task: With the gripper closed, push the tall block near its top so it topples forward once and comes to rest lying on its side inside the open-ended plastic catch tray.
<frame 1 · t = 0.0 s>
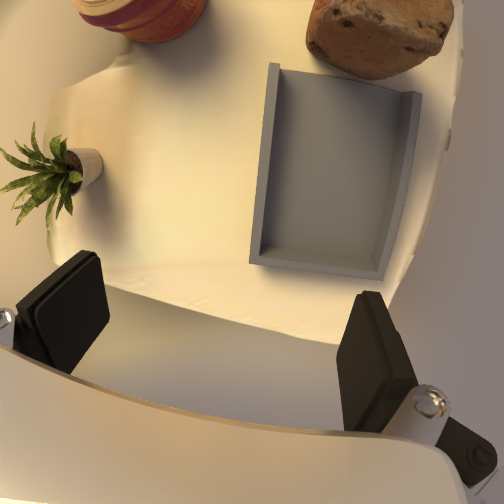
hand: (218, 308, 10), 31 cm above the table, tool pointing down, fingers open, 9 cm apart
canister: (163, 6, 30), on the table
catch tray: (332, 167, 37), on the table
house plant: (89, 155, 40), on the table
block: (345, 48, 31), on the table
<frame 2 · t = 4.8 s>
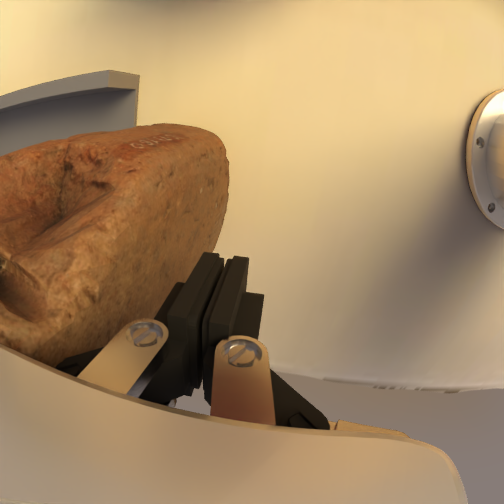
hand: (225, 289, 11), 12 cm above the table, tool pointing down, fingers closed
catch tray: (38, 181, 24), on the table
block: (186, 190, 23), on the table, touching gripper
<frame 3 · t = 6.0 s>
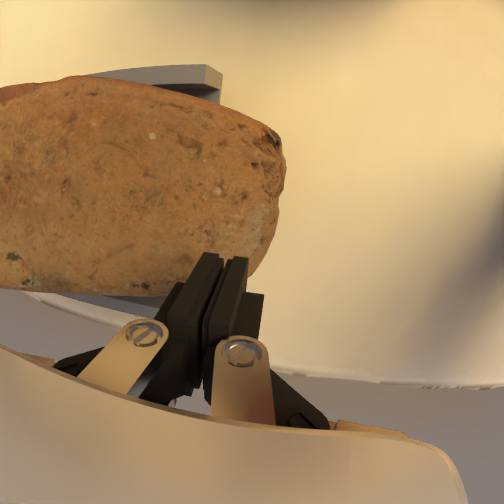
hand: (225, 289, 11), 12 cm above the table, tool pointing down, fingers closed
catch tray: (85, 185, 23), on the table
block: (253, 205, 20), point 3 cm above the table
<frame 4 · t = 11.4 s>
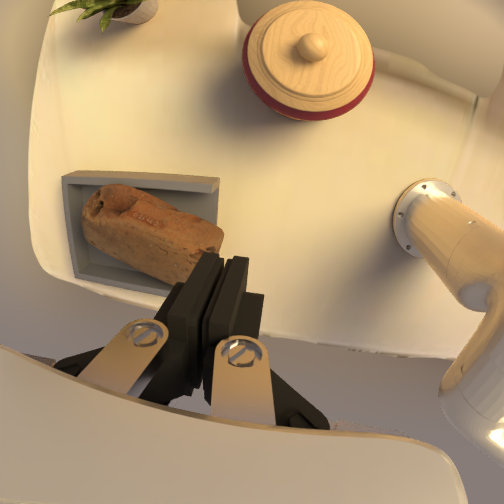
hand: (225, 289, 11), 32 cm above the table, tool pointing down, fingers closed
canister: (303, 75, 35), on the table
catch tray: (144, 228, 47), on the table
house plant: (151, 7, 31), on the table
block: (216, 263, 42), point 5 cm above the table, touching catch tray
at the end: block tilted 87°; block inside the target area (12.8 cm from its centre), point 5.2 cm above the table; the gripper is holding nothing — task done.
